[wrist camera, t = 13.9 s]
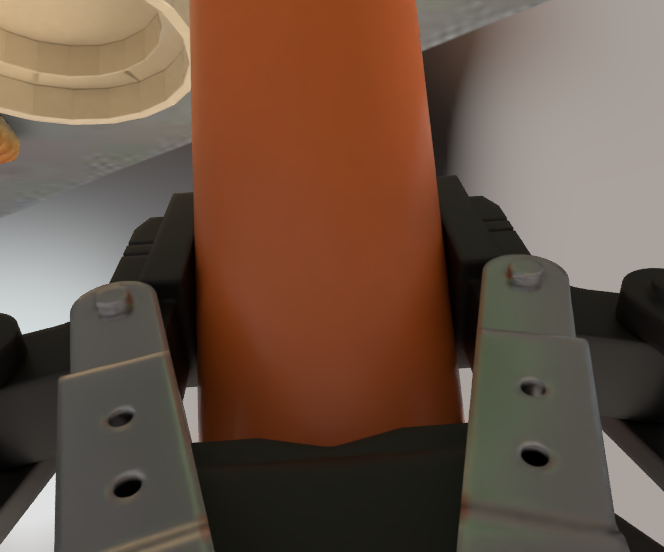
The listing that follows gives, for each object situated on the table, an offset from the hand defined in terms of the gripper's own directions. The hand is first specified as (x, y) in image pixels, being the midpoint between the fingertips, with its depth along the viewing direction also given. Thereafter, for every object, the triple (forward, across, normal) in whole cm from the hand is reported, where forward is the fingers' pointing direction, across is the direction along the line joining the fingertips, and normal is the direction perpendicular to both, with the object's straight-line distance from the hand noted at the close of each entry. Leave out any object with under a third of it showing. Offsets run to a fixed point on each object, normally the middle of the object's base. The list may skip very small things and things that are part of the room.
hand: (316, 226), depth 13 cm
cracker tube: (+1, 0, -4) cm, 4 cm away
